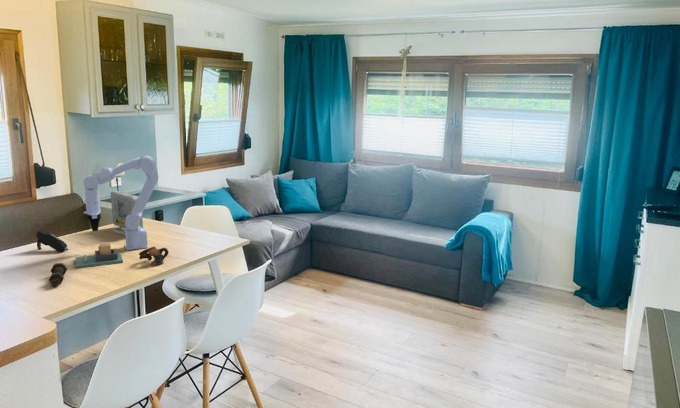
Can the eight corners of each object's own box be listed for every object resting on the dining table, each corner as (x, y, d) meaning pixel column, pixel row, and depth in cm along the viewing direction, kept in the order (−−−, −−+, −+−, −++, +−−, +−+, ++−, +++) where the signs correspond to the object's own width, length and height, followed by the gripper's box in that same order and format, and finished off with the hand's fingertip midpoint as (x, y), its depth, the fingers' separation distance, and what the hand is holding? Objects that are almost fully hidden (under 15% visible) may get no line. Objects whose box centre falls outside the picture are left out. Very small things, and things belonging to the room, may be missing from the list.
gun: (59, 263, 232) (66, 246, 229) (30, 246, 233) (37, 228, 230) (64, 261, 235) (71, 244, 232) (35, 244, 236) (42, 226, 233)
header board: (120, 254, 229) (119, 246, 229) (122, 262, 218) (122, 254, 217) (75, 259, 221) (74, 251, 220) (76, 268, 210) (75, 260, 209)
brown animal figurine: (146, 269, 211) (138, 252, 212) (143, 273, 219) (135, 255, 220) (173, 257, 218) (165, 240, 218) (170, 261, 226) (162, 244, 226)
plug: (110, 255, 223) (109, 242, 222) (111, 258, 220) (110, 245, 219) (99, 257, 221) (98, 244, 220) (99, 260, 218) (98, 246, 217)
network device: (147, 234, 262) (145, 196, 258) (131, 237, 255) (128, 199, 251) (124, 225, 278) (121, 189, 274) (108, 228, 272) (105, 192, 268)
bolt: (54, 292, 189) (58, 278, 203) (66, 285, 190) (69, 271, 204) (43, 281, 187) (48, 267, 200) (56, 273, 188) (60, 259, 201)
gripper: (82, 199, 234) (85, 227, 237) (83, 205, 221) (86, 235, 224) (99, 198, 237) (101, 226, 240) (101, 204, 225) (103, 233, 228)
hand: (95, 230), depth 232 cm, fingers closed
